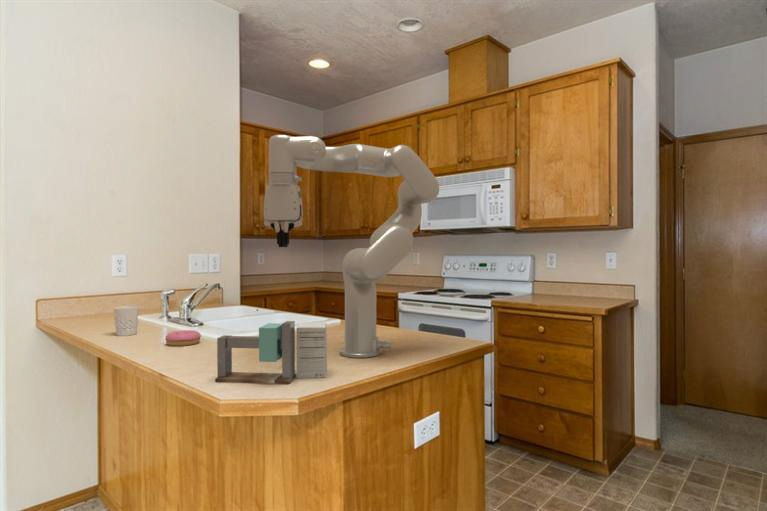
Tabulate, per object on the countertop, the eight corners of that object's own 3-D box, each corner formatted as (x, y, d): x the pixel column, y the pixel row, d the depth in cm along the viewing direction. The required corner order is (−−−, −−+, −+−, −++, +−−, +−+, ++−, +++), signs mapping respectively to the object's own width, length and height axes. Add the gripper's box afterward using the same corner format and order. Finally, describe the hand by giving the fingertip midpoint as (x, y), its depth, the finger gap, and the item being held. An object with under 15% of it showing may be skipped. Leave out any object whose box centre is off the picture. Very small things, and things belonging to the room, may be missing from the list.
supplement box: (298, 370, 122) (298, 322, 122) (327, 370, 123) (327, 321, 123) (296, 378, 115) (295, 327, 115) (326, 378, 116) (326, 326, 115)
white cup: (143, 333, 174) (142, 306, 174) (121, 337, 167) (121, 309, 167) (131, 331, 178) (130, 305, 178) (109, 335, 172) (109, 307, 171)
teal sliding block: (284, 355, 116) (284, 323, 116) (275, 362, 110) (275, 328, 110) (268, 355, 117) (268, 323, 117) (259, 361, 110) (258, 327, 110)
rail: (294, 378, 115) (294, 321, 115) (290, 382, 111) (290, 323, 111) (224, 376, 117) (223, 320, 117) (217, 380, 113) (217, 322, 113)
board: (296, 376, 116) (296, 373, 116) (288, 384, 110) (288, 380, 110) (226, 375, 118) (226, 371, 118) (215, 381, 112) (215, 378, 112)
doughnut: (171, 349, 149) (171, 335, 149) (160, 343, 157) (160, 331, 157) (206, 344, 156) (206, 331, 156) (193, 339, 164) (193, 327, 164)
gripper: (312, 182, 134) (312, 247, 134) (261, 183, 135) (261, 247, 136) (305, 178, 127) (305, 247, 127) (251, 179, 128) (252, 247, 128)
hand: (283, 246), depth 131 cm, fingers closed
